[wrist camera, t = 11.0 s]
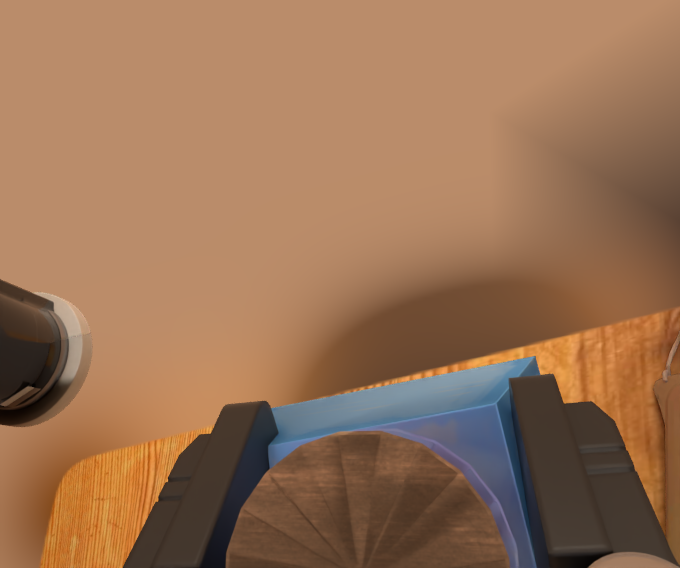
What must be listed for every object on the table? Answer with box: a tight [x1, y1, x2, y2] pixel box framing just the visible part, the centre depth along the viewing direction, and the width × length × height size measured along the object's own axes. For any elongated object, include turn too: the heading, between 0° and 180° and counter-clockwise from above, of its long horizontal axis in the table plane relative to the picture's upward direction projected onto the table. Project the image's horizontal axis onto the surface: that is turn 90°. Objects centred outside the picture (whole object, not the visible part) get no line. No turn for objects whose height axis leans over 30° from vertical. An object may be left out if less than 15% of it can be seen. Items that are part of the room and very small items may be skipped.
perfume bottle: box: [226, 356, 540, 568], centre depth 12 cm, size 6×6×12 cm
